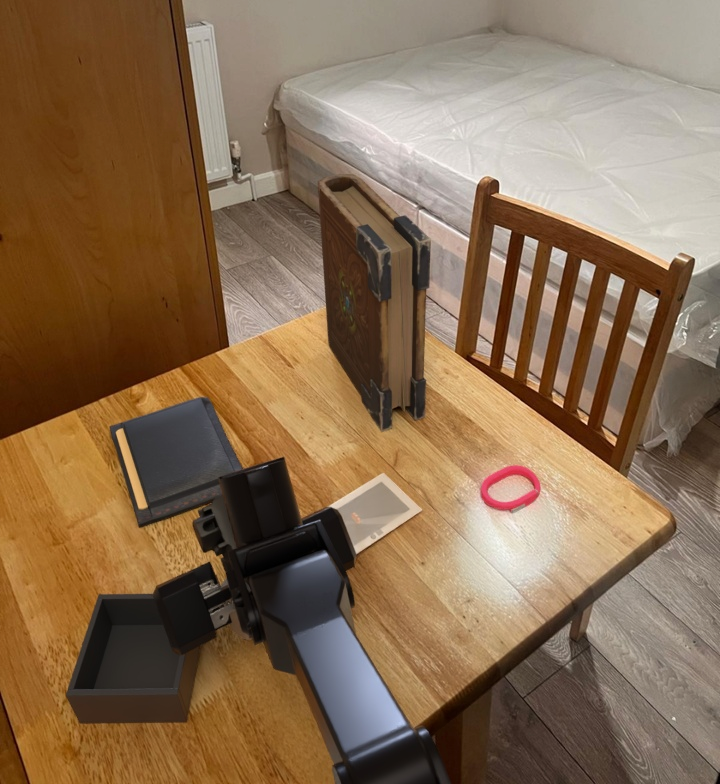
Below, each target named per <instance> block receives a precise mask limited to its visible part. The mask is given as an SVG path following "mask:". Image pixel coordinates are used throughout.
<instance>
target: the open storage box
mask: <svg viewBox="0 0 720 784" xmlns="http://www.w3.org/2000/svg"><path fill="white" fill-rule="evenodd" d="M152 594H153V593H99V594H98V595H97V599H96V602H95V604H94V607H93V611H92V614H91V616H90V620H89V623H88V626H87V628H86V632H85V634H84V638H83V641H82V644H81V647H80V650H79V653H78V656H77V658H76V662H75V666H74V668H73V671H72V674H71V678H70V680H69V683H68V686H67V690H66V692H65V697H66V699H67V701H68V703H69V705H70V707H71V709H72V712H73V713H74V715H75V717H76V719H77V721H78V724H159V723H160V724H161V723H162V724H165V723H166V724H167V723H168V724H169V723H176V724H177V723H187V722H188V717H189V713H190V707H191V702H192V697H193V690H194V686H195V680H196V675H197V669H198V665H199V659H200V655H201V649H202V645H201V646H199V647H197V648H195V649H193V650H191V651H189V652H187V653H186V654H184V655H179V654H177V653H175V652H173V651H172V649H171V646H170V643H169V640H168V637H167V634H166V632H165V629H164V626H163V623H162V620H161V617H160V615H159V612H158V609H157V606H156V603H155V600H154V598H153V595H152Z"/></svg>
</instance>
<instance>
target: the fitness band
mask: <svg viewBox="0 0 720 784" xmlns="http://www.w3.org/2000/svg"><path fill="white" fill-rule="evenodd" d="M513 475H517V476H523V477H525V478H526V479H528V480H529V481H530V482H531V483H532V484H533V487H534V489H532V490H531V491H529V492H527V493H525V494H523V495H522V496H520V497H518V498H517V499H513V500H511V501H510V500H509V501H499V500H496V499H494V498H492V497H491V496H490V495H489V492H488V489H489V488H490V487H491V486H492V485H494V484H496V483H498V482H500V481H502V480H503V479H506V478H507V477H510V476H513ZM540 493H541V481H540V480H539V478H538V476H537V475H536V474H535V473H534V472H533V471H532V470H531V469H530V468H528V467H526V466H523V465H518V464H516V465H515V464H513V465H509V466H508V465H507V466H506V467H503V468H501V469H499V470H497V471H496V472H493V473H492V474H490V475H489V476H487V477H486V478H485V479H484V480H483V482H482V483H481V487H480V496H481V499H482V500H483V502H484V503H485V504H486V505H487V506H489V507H491V508H494V509H497V510H508V511H509V512H510V513H511V514H514V513H516V512H518V511H520V510H521V509H524V508H526V507H527V506H529V505H530V504H532V503H534V501H536V500H537V499H538V497H539V495H540Z"/></svg>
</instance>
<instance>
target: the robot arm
mask: <svg viewBox="0 0 720 784" xmlns="http://www.w3.org/2000/svg"><path fill="white" fill-rule="evenodd" d="M218 479H219V483H220V487H221V491H222V494H223V495H220V496H218V497H216V498H215V499H214V500H213V501H212V502H211V503H209V504H207V505H205V506H204V507H202V508H200V509H198V510H197V513H198V516H199V517H197V518H195V519H193V520H192V521H191V525H192V529H193V532H194V535H195V537H196V539H197V542H198V544H199V547H200V550H201V552H202V553H203V554H206V553H209V552H214V555H215V557H219V556H222V557H221V558H220V562H221V565H222V567H223V570H224V572H225V577H226V579H227V582H228V585H226V586H224V587H222V588H221V585H222V584H221V583H220V580H219V577H218V574H216V573H215V570H214V568H213V565H212V563H211V561H207V562H205V563H204V564H201V565H199V566H197V567H194V568H192V569H190V570H188V571H186V572H184V573H181V574H179V575H177V576H174V577H173V578H170V579H168V580H166V581H164V582H162V583H159V584H158V585H156V586H155V588H154V590H153V592H152V593H151V594H152V595H153V598H154V600H155V603H156V606H157V609H158V612H159V615H160V617H161V620H162V623H163V626H164V629H165V632H166V634H167V637H168V640H169V643H170V646H171V649H172V651H173V652H175V653H177V654H179V655H184V654H186V653H187V652H189V651H191V650H193V649H195V648H197V647H199V646H201V647H202V646H203V645H205V644H207V643H209V642H211V641H213V640H216V638H218V634H217V631H218V630H221V629H223V628H224V627H226V626H228V625H230V623H232V620H231V617H230V613H231V612H233V611H235V610H236V613H237V617H238V620H239V624H240V627H241V630H242V632H243V633H245V634H247V635H248V636H249V639H250V638H252V639H251V640H252V643H253V645H254V646H255V647H256V646H258V645H261V644H263V648H264V650H265V652H266V655H267V657H268V659H269V662H270V665H271V667H272V668H273V670H275V671H279V672H282V673H286V674H289V675H292V676H295V677H296V680H297V681H298V683H299V686H300V688H301V690H302V693H303V695H304V697H305V699H306V702H307V705H308V707H309V709H310V711H311V714H312V716H313V719H314V721H315V723H316V726H317V729H318V731H319V733H320V735H321V737H322V740H323V742H324V744H325V747H326V750H327V752H328V754H329V756H330V758H331V761H332V765H331V770H332V775H333V781H334V784H452V782H451V780H450V777H449V775H448V772H447V769H446V766H445V765H444V761H443V759H442V756H441V754H440V751H439V750H438V747H437V745H436V743H435V741H434V739H433V737H432V736H431V734H430V732H429V730H428V729H426V727H425V726H424V725H418V726H416V727H414V726H413V725H412V723H411V722H410V720H409V719H408V717H407V716H406V714H405V712H404V711H403V709H402V707H401V705H400V704H399V702H398V701H397V699H396V698H395V696H394V694H393V692H392V691H391V690H390V688H389V686H388V683H386V681H385V679H384V678H383V676H382V675H381V673H380V671H379V670H378V668H377V667H376V665H375V663H374V661H373V660H372V658H371V656H370V655H369V653H368V652H367V651H366V648H365V647H364V645H363V644H362V642H361V640H360V638H359V637H358V635H357V631H356V626H355V621H354V617H353V612H352V609H354V608H355V606H356V602H355V596H354V591H353V587H352V584H351V580H350V578H349V575H348V572H347V571H349V570H351V569H354V568H355V566H356V562H357V554H356V552H355V549H354V546H353V544H352V541H351V539H350V536H349V534H348V531H347V528H346V526H345V523H344V521H343V518H342V516H341V514H340V513H339V511H338V510H337V509H335V508H332V507H328V506H324V507H322V508H320V509H318V510H316V511H313V512H311V513H309V514H307V515H305V516H303V517H302V516H301V512H300V508H299V505H298V502H297V497H296V494H295V491H294V486H293V483H292V479H291V476H290V473H289V468H288V465H287V462H286V458H285V456H280V457H277V458H275V459H271V460H267V461H264V462H261V463H257V464H255V465H251V466H248V467H245V468H243V469H241V470H238V471H235V472H231V473H228V474H225V475H222V476H220V477H218ZM231 598H232V599H231ZM229 599H231V603H230V602H229V601H227V600H229ZM226 601H227V603H226Z"/></svg>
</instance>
